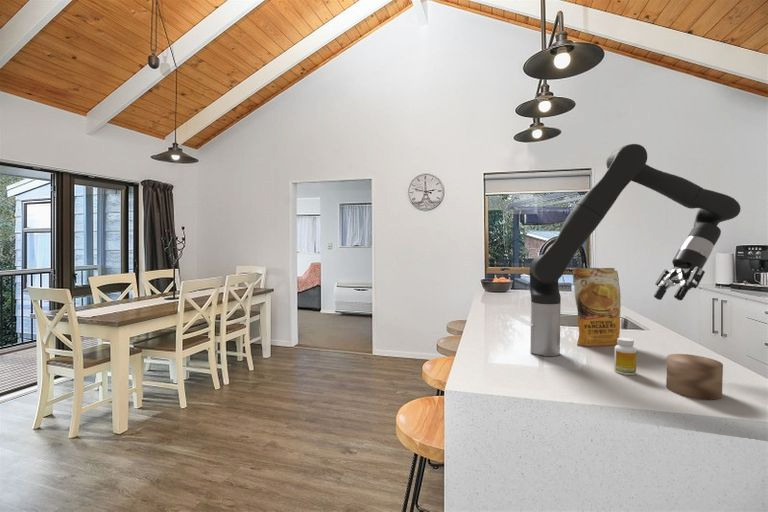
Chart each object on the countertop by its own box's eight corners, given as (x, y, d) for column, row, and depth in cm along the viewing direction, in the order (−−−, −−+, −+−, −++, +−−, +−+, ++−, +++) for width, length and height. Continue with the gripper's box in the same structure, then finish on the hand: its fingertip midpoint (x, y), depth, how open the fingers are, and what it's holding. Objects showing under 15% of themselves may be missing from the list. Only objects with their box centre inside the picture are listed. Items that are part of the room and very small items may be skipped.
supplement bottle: (639, 376, 109) (640, 342, 108) (618, 375, 110) (619, 341, 109) (631, 369, 114) (631, 337, 113) (611, 368, 115) (611, 336, 115)
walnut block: (674, 396, 95) (675, 364, 94) (660, 381, 105) (661, 352, 105) (730, 403, 91) (731, 369, 90) (710, 386, 101) (711, 356, 101)
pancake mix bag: (566, 342, 144) (567, 267, 143) (615, 340, 146) (616, 266, 145) (577, 347, 138) (578, 268, 136) (627, 345, 139) (629, 268, 138)
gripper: (665, 250, 126) (640, 291, 125) (701, 244, 112) (673, 291, 111) (685, 263, 126) (660, 304, 124) (724, 259, 112) (696, 306, 110)
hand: (666, 298), depth 118 cm, fingers open, 8 cm apart
